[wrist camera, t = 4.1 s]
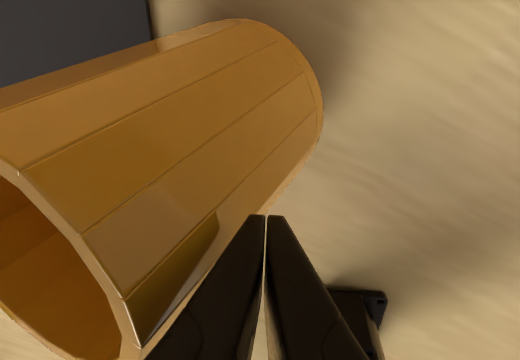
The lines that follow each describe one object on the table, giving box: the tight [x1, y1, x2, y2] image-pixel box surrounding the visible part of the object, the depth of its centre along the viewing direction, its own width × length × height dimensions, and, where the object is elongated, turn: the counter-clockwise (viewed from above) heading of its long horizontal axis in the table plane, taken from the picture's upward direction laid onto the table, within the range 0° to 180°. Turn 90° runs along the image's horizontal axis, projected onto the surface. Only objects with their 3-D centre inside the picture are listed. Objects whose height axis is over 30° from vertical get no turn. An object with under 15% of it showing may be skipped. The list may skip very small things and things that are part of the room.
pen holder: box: [0, 18, 323, 360], centre depth 13 cm, size 7×7×11 cm
